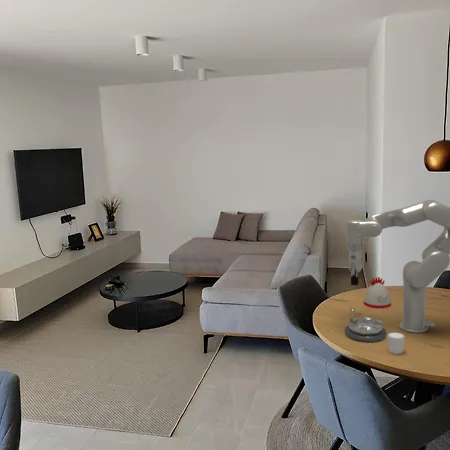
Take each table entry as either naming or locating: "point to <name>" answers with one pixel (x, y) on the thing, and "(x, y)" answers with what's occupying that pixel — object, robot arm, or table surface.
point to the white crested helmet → (377, 295)
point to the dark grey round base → (365, 338)
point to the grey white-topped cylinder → (396, 342)
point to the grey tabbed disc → (364, 325)
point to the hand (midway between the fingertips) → (354, 284)
